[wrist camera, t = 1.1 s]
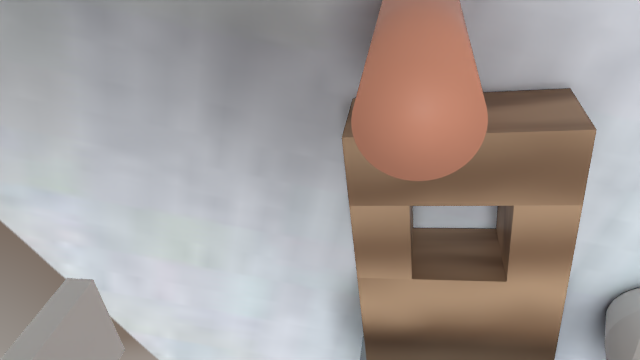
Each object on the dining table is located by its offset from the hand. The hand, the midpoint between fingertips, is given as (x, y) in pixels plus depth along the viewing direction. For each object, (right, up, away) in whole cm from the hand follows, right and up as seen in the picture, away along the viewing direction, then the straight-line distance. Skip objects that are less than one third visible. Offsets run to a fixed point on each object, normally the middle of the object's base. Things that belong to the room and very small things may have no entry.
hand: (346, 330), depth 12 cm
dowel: (+5, +13, +14) cm, 20 cm away
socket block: (+8, +1, +21) cm, 23 cm away
